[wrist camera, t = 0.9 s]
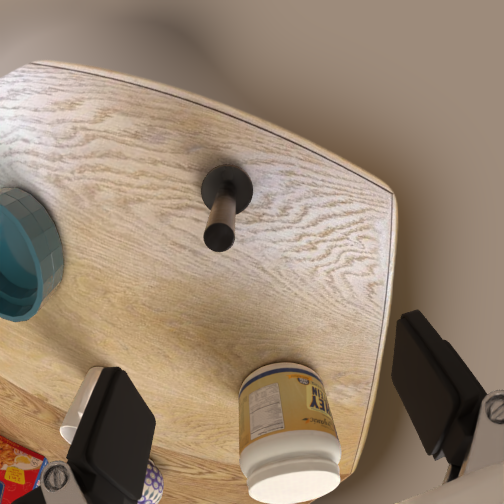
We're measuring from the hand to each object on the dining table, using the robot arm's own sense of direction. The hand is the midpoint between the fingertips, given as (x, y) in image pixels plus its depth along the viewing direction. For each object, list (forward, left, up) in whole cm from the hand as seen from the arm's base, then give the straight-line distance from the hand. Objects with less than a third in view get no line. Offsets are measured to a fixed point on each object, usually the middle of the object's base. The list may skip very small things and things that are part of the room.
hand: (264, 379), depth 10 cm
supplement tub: (+27, -1, -24) cm, 36 cm away
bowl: (-2, -30, -24) cm, 38 cm away
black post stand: (-2, -2, -24) cm, 24 cm away
